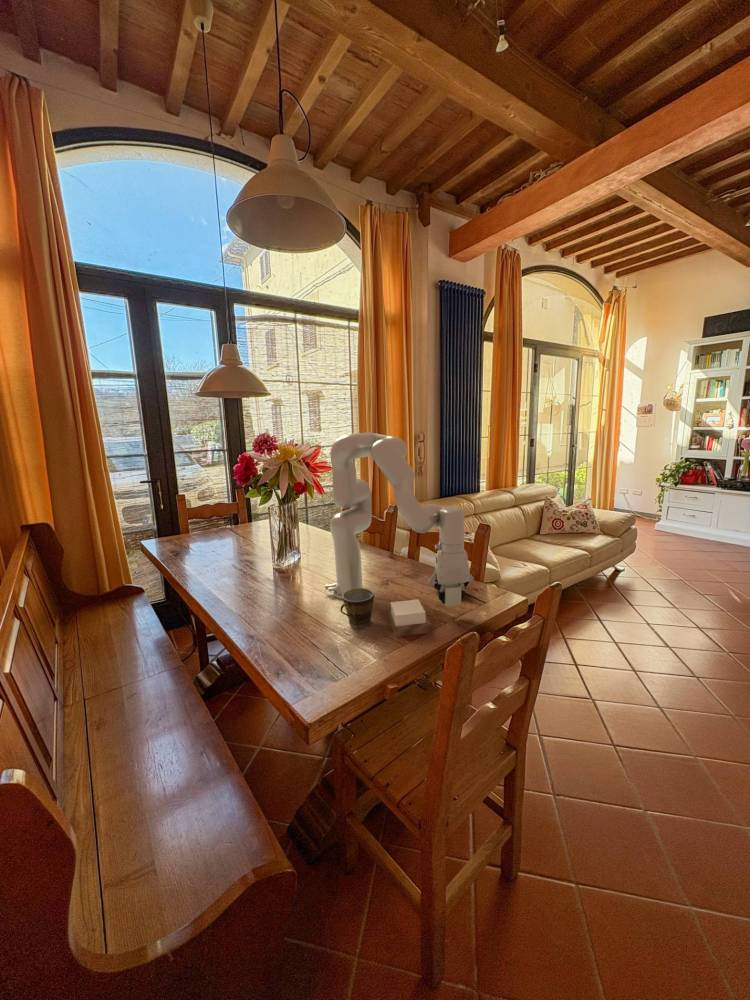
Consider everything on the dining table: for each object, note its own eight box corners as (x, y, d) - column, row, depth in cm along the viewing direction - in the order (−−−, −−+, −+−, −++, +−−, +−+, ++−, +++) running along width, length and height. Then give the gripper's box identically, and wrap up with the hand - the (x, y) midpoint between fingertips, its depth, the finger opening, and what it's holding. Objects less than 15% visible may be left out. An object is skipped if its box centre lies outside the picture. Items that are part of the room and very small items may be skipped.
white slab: (396, 626, 120) (395, 615, 120) (391, 612, 129) (390, 602, 129) (425, 622, 122) (425, 612, 121) (418, 609, 130) (418, 599, 130)
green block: (445, 606, 127) (446, 588, 125) (441, 599, 132) (441, 582, 130) (461, 604, 127) (461, 587, 126) (455, 598, 132) (456, 580, 131)
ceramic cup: (358, 613, 136) (356, 585, 134) (381, 621, 130) (380, 592, 128) (331, 629, 126) (328, 600, 124) (354, 639, 120) (352, 608, 118)
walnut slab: (395, 638, 120) (394, 627, 120) (388, 621, 131) (388, 611, 130) (431, 634, 122) (430, 623, 121) (421, 617, 133) (421, 607, 132)
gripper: (428, 552, 121) (428, 609, 125) (482, 548, 123) (480, 604, 127) (421, 545, 128) (422, 598, 132) (473, 541, 130) (471, 593, 134)
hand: (450, 600), depth 129 cm, fingers closed on green block, 5 cm apart
